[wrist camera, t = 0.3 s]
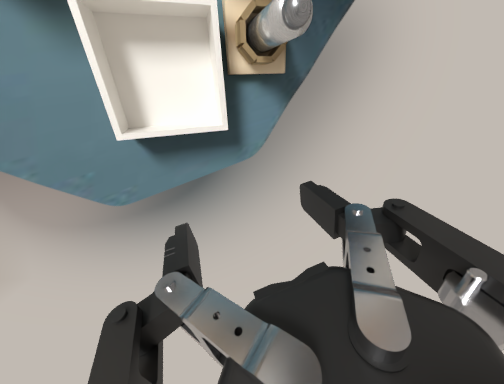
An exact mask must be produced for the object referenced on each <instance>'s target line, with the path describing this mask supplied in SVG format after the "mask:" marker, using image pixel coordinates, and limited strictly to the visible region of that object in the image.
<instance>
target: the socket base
mask: <svg viewBox="0 0 504 384" xmlns="http://www.w3.org/2000/svg"><path fill="white" fill-rule="evenodd" d="M271 1H272V0H222V5H223V17H224V30H225V42H226V55H227V67H228V75H241V74H282V73H285V56H286V44H287V42H285V43H283V44H281V45H278V46H276V47H274V48H272V49H271V50H269V51H267V52H265V53H263V54H255V53H254V51H253V50H252V49H251V48H250V46H249V45H248V44H247V43H246V25H247V24H248V23H249V21H250V20H251V19H252V18H253V17H255V16H256V15H257V14H259V13H260V12H261V11H262V10H263V9H264V8H265V7H266V6H267V5H268V4H269V3H270V2H271Z"/></svg>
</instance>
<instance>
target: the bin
mask: <svg viewBox="0 0 504 384" xmlns="http://www.w3.org/2000/svg"><path fill="white" fill-rule="evenodd" d="M67 1H68V4H69V7H70V10H71V12H72V15H73V18H74V21H75V24H76V26H77V29H78V32H79V35H80V38H81V40H82V43H83V46H84V49H85V52H86V54H87V57H88V60H89V63H90V66H91V68H92V71H93V74H94V77H95V80H96V83H97V85H98V88H99V91H100V94H101V97H102V99H103V102H104V105H105V108H106V111H107V113H108V116H109V119H110V122H111V125H112V127H113V130H114V133H115V136H116V139H117V141H118V140H128V139H139V138H149V137H159V136H170V135H180V134H191V133H201V132H211V131H222V130H228V121H227V110H226V99H225V88H224V77H223V66H222V55H221V44H220V33H219V21H218V10H217V0H67Z"/></svg>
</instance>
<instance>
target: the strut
mask: <svg viewBox="0 0 504 384" xmlns="http://www.w3.org/2000/svg"><path fill="white" fill-rule="evenodd" d="M312 14H313V5H312V0H272V1H271V2H270V3H269V4H268V5H267V6H266V7H265V8H264V9H263V10H262V11H261V12H260V13H259V14H257V15H256V16H255V17H253V18H252V19H251V20H250V21H249V23H248V24H247V25H246V43H247V44H248V45H249V46H250V48H251V49H252V50H253V51H254V53H255V54H263V53H265V52H267V51H269V50H271V49H272V48H274V47H276V46H278V45H281V44H283V43H285V42H287V41H289V40H292V39H294V38H296V37H298V36H300V35H302V34H303V33H304V32H305V31H306V30H307V29H308V27H309V25H310V23H311V20H312Z"/></svg>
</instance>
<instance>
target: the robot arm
mask: <svg viewBox="0 0 504 384" xmlns="http://www.w3.org/2000/svg"><path fill="white" fill-rule="evenodd" d="M300 197H301V205H302V207H303V209H304V210H305V211H306V212H307V213H308V214H309V215H310V216H311V217H312V218H313V219H314V220H315V221H316V222H317V223H318V224H319V225H320V226H321V227H322V228H323V229H324V230H325V231H326V232H327V233H328V234H329V235H330V236H331V237H332V238H333V239H336V238H338V237H341V238H342V253H343V267H336V266H331V267H328V266H327V265H326V264H325V263H324V262H322V263H319V264H317V265H315V266H313V267H310V268H308V269H306V270H305V271H304V272H303V273H301V274H300V275H299V276H298V277H296V278H295V279H294V280H292V281H288V282H281V283H276V284H271V285H268V286H266V287H264V288H261V289H259V290H257V291H255V292H253V293H254V296H255V299H253V300H252V301H251V302H250V303H249V304H248V305H247V307H246V308H245V309H243V308H242V307H240V306H238V305H237V304H235V303H234V302H232V301H230V300H229V299H227V298H226V297H224V296H223V295H221V294H220V293H218V292H216V291H215V290H213V289H212V288H209V287H207V288H206V289H204V288H203V285H202V277H201V269H200V259H199V251H198V245H197V242H196V240H195V237H194V235H193V233H192V231H191V229H190V227H189V224H188V223H185V224H182V225H179V226H176V227H175V235H174V236H171V237H169V239H168V240H167V242H166V244H165V255H164V256H165V257H164V265H163V277H162V278H161V279H160V280H159V281H158V283H157V285H156V287H155V291H154V292H153V293H152V294H151V295H149V296H148V297H147V298H145V299H144V300H142V301H141V302H139V303H138V304H136V303H135V302H133V301H127V302H124V303H122V304H120V305H118V306H117V307H116V308H114V309H113V310H112V311H111V312H110V313H109V315H108V316H107V318H106V319H105V322H104V324H103V328H102V331H101V335H100V339H99V343H98V347H97V350H96V355H95V358H94V362H93V366H92V370H91V373H90V377H89V381H88V384H163V339H165V338H166V337H167V336H168V335H170V334H171V333H172V332H173V331H175V330H176V329H177V328H178V327H181V328H182V329H183V330H184V331H185V332H186V333H187V334H188V335H190V336H191V337H192V338H193V339H194V340H195V341H196V342H197V343H198V344H199V345H201V346H202V347H203V348H204V349H205V350H206V352H207V353H208V354H209V355H210V356H211V357H212V358H213V359H214V360H215V361H216V362H217V363H219V364H220V365H221V366H222V367H223V369H222V372H221V375H220V378H219V381H218V384H504V354H503V353H502V350H504V255H503V254H501V253H500V252H498V251H496V250H494V249H492V248H490V247H488V246H487V245H485V244H483V243H482V242H480V241H478V240H476V239H474V238H472V237H471V236H469V235H467V234H465V233H463V232H461V231H459V230H458V229H456V228H454V227H452V226H451V225H449V224H447V223H445V222H443V221H442V220H440V219H438V218H436V217H434V216H433V215H431V214H429V213H427V212H425V211H424V210H422V209H420V208H418V207H416V206H414V205H413V204H411V203H409V202H407V201H405V200H401V199H388V200H386V201H385V202H384V204H383V207H381V208H373V209H370V208H369V207H367V206H365V205H362V204H351V203H349V202H348V201H346V200H345V199H343V198H342V197H340V196H339V195H336V193H334V192H332V191H331V190H330V189H328V188H327V187H324V186H321V185H316V184H315V183H313V182H312V181H309V182H306V183H303V184H301V185H300ZM406 231H408V232H410V233H411V234H412V235H414V236H415V237H417V238H418V239H419V240H420V242H421V244H422V246H421V245H419V244H418V243H416V242H415V241H413V240H412V239H411V238H409V237H408V236H407V235H405V234H406ZM385 248H386V249H387V250H388V251H389V252H391V253H392V254H393V255H394V256H395V257H396V258H397V259H399V260H400V261H401V262H402V263H403V264H404V265H406V266H407V267H408V268H409V269H410V270H411V271H413V272H414V273H415V274H416V275H417V276H418V277H420V278H421V279H422V280H423V281H424V282H425V283H427V284H428V285H429V286H430V287H431V288H432V289H433V290H435V291H436V292H437V293H438V296H439V298H440V300H441V301H442V303H443V304H442V303H440V302H437V301H434V300H431V299H429V298H426V297H423V296H421V295H418V294H415V293H412V292H410V291H407V290H405V289H402V288H399V287H397V286H395V284H394V280H393V277H392V273H391V269H390V265H389V262H388V258H387V254H386V251H385Z"/></svg>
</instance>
